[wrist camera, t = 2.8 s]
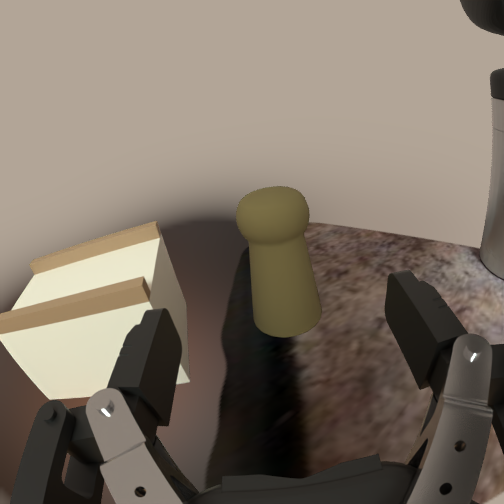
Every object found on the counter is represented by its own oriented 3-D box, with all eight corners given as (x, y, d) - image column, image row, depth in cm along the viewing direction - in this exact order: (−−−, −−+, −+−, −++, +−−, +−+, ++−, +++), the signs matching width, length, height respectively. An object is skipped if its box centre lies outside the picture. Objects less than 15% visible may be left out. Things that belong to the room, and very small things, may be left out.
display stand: (186, 303, 30) (156, 220, 25) (190, 381, 21) (141, 285, 16) (72, 329, 28) (33, 259, 24) (49, 399, 20) (-12, 323, 15)
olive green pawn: (240, 327, 25) (208, 208, 20) (271, 286, 30) (252, 178, 24) (307, 344, 22) (293, 211, 17) (330, 296, 27) (323, 178, 21)
